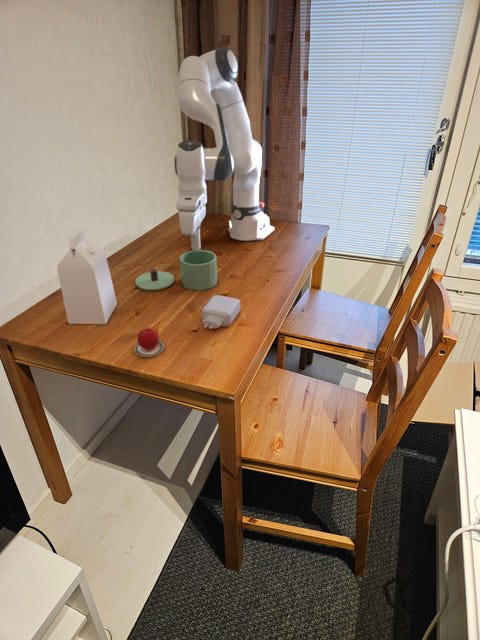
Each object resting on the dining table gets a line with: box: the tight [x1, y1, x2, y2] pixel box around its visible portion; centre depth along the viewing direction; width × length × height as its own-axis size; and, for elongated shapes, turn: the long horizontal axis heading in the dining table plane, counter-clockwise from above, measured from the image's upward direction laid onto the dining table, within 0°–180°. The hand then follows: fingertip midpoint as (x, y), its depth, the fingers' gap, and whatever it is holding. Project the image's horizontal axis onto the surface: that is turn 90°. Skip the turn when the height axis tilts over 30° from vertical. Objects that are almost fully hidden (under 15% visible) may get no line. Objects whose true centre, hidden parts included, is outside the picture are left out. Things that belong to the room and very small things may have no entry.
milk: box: [56, 230, 118, 325], centre depth 122 cm, size 12×12×26 cm
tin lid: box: [134, 268, 175, 291], centre depth 145 cm, size 14×14×5 cm
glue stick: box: [190, 225, 202, 251], centre depth 138 cm, size 3×3×8 cm
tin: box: [179, 249, 218, 291], centre depth 144 cm, size 13×13×10 cm
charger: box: [201, 294, 241, 330], centre depth 123 cm, size 5×9×15 cm
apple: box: [133, 327, 165, 358], centre depth 111 cm, size 8×8×6 cm
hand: (195, 238), depth 138 cm, fingers closed on glue stick, 3 cm apart
